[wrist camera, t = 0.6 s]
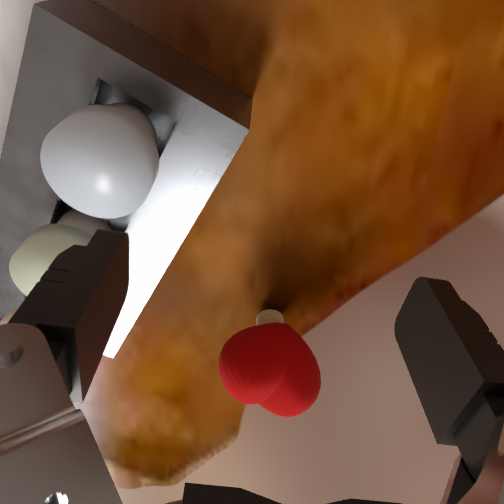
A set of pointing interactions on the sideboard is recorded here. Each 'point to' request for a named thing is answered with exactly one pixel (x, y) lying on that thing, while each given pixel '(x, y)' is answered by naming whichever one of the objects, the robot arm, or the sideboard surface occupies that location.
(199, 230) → the sideboard surface
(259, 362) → the red heart
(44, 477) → the robot arm
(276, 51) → the sideboard surface
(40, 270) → the cap mid
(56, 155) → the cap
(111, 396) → the sideboard surface
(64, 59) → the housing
